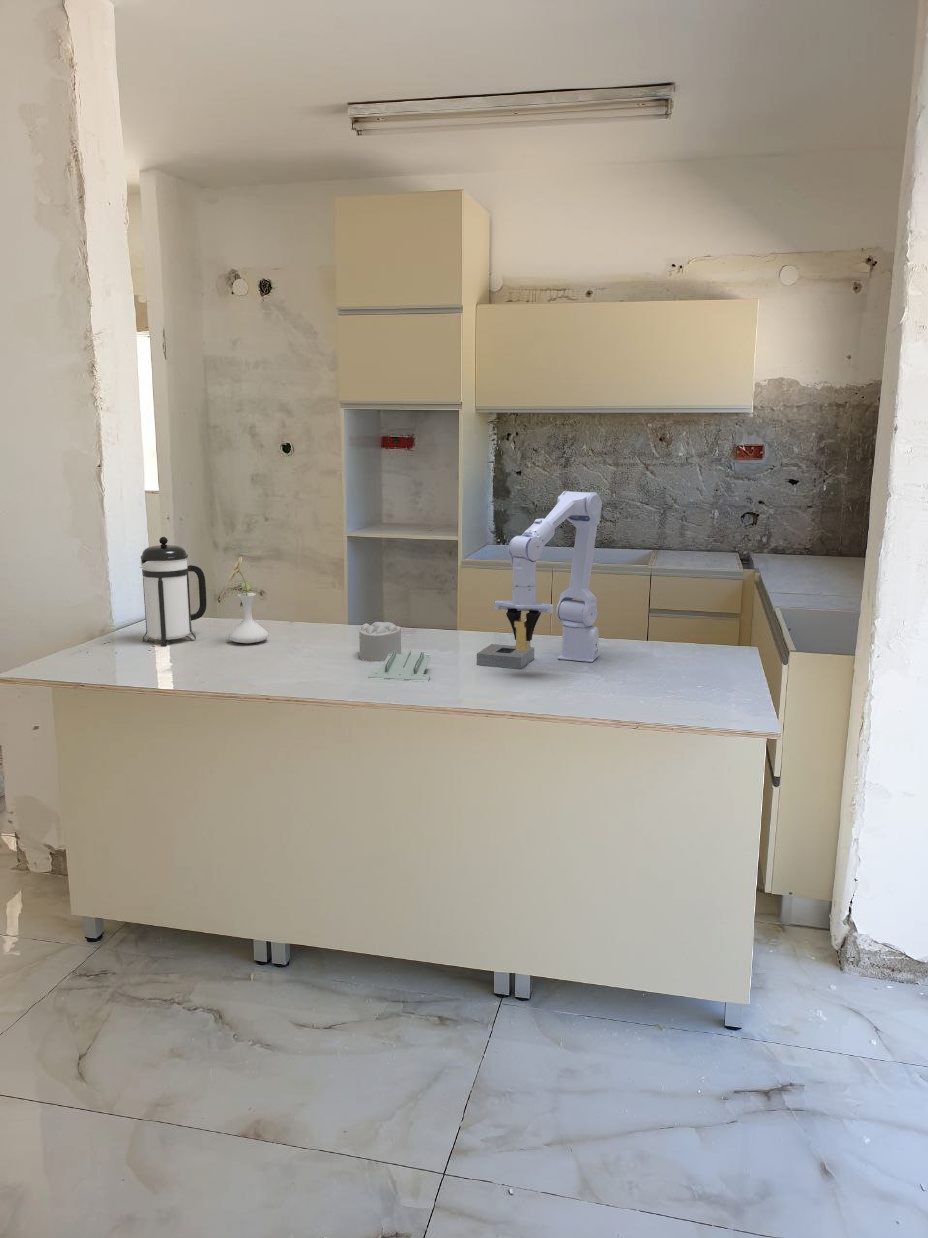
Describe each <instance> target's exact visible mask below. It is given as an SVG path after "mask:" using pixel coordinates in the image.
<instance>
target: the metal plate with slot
mask: <svg viewBox="0 0 928 1238" xmlns="http://www.w3.org/2000/svg"><path fill="white" fill-rule="evenodd" d="M533 660H535V647H532V646H530V648H529V649H528V650H526V651H521V650H516V645H508V644H497V643H491V644H489V645H488V646H486V647H485V648H483V649H481V650H480V651H478V652H477V653H476V666H484V667H485V666H486V667H495V668H504V669H505V668H507V669H508V668H509V669H518V670H522V669H523V668H524V667H526V666H527V665H528V664H529V663H530V662H532V661H533Z"/></svg>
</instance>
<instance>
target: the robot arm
mask: <svg viewBox="0 0 928 1238" xmlns="http://www.w3.org/2000/svg"><path fill="white" fill-rule="evenodd" d="M602 506H603V502H602V499H601V497H600V495H599V494H598V493H597V492H595V491H592V492H585V491H584V492H583V491H569V490H564V491H563V492H562V493H561V494H560V495H558V497H557V500H556V504H555V506H554V507H553V509H552V510H550V511H549V513H548V514H547V515H546V517H545V518H536V519H535V520H534V521H533V523H532V524H531V525H530V526H529V527H528V528H527V529H525V530H524V532H523V533H522V534H521V535H515V536H514V537H513V538H512V539H511V540H510V542H509V544H508V547H507V554H508V556H509V558H510V560H509V561H510V566H511V567H512V578H511V579H512V580H511V581H512V586H511V587H512V589H511V590H512V592H511V593H512V595H511V597H512V598H511V599H512V600H495V601H494V610H496V611H497V610H507V611H506V618H507V619H508V621H509V623H510V626H511V629H512V632H513V636H514V640H515V641H516V627H514V621H516V620H517V619H519V618H521V617H522V612H527V613H526V614H525V616H526V619H527V641H530V642H531V641H532V640H533V636H534V635H533V634H534V631H535V628H536V625H537V623H538V620H539V618H540V616H541V615H542V613H547V614H552V613H554V604H553V603H552V604H551V603H543V602H536V601H537V600H536V594H537V590H536V589H537V585H536V584H537V560H538V559H540V558H541V555H542V551H543V550H544V547H545V545H546V544H547V543H549V541H550V540H551V539H552V538H553V537H554V535H555V533H556V531H555V529H556V528H557V527H558V526H560V525H561V524H562V523H563V522H564V521H566V520H568V522H570V523H571V524H573V526H574V527H575V528H576V531H575V536H574V537H575V539H574V546H573V553H572V562H571V571H570V576H569V577H570V578H569V583H568V584H569V585H568V588H566V589H565V590H563V591H562V592H561V593H560V595H559V600H558V603H557V605H556V607H555V608H556V610H555V611H556V612H555V613H556V617H557V620H558V621H560V623H559V625H562V636H561V637H562V641H561V647H562V648H561V654H559V655H558V656H557V660H565V661H577V662H587V663H593V662H594V661H595V660H596V659H597V658H598V657H599V641H600V635H599V634H600V633H599V632H600V631H599V627H597V626H593V624H594V623H595V622H596V621H597V617H598V608H597V607H598V605H597V604H598V603H597V602H598V598H597V597H596V596H595V595H594V593H593V592H591V590H590V583H591V576H592V575H591V574H592V568H593V567H592V566H593V561H594V560H593V559H594V554H595V546H596V545H595V544H596V538H597V537H596V536H597V529H598V525H600V522H601V514H602ZM576 599H579V600H576Z"/></svg>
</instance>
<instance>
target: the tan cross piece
mask: <svg viewBox="0 0 928 1238" xmlns="http://www.w3.org/2000/svg"><path fill="white" fill-rule="evenodd" d="M514 627H516V640H515V646H516V650H521V651H526V650H528V649H529V648H530V647H531V640H530V641H527V619H526V615H523V616H522V615H521V618H519V619H517V620H516V621H514Z"/></svg>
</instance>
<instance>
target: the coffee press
mask: <svg viewBox="0 0 928 1238" xmlns="http://www.w3.org/2000/svg"><path fill="white" fill-rule="evenodd" d="M158 541H159V543H160V545H153V546H149V547H147V548H145V549H143V551H142V554H141V555H140V561H139V565H138V567H139V569H141V573H142V575H141V576H142V585H143V586H142V587H143V598H144V599H143V600H144V613H145V634H144V635H143V637H142V641H143V642H146V643H147V642H148V641H149V640H150V639H155V640H160V646H161V647H167V643H168V641H170V640H176V639H177V640H178V639H182V638H187V639H188V640H190V641H191V642H194V641H195V640H196V639H197V635H196V634H195V633H194V632H193V630H192V629H193V628H192V621H195V620H198V619H200V618H202V617H203V616H204V615H205V612H206V609H207V588H206V587H207V586H206V577H205V573H204V572H203V570H202V569H201V568H200V567H198V566H197V565H192V564H190V565H188V558H189V554H188V553H187V551H186V550H185V548H183V547H182V546H179V545H173V544H172V545H171V544H167V543H168V541H169V540H168V538H167V537H165V536H162V537H160V538H159V540H158ZM189 572H191V573H192V572H193V573H195V574H196V576H197V579H198V597H199V608H198V610H197V611H196V612H195V613H193V614H191V613H192V612H191V600H190V599H191V598H190V596H191V594H190V582H189V581H190V580H189ZM190 633H191V635H192V637H194V639H192V638H191V637H190V636H189V635H190ZM146 636H148V637H149V638H148V639H146V638H145V637H146Z"/></svg>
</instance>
